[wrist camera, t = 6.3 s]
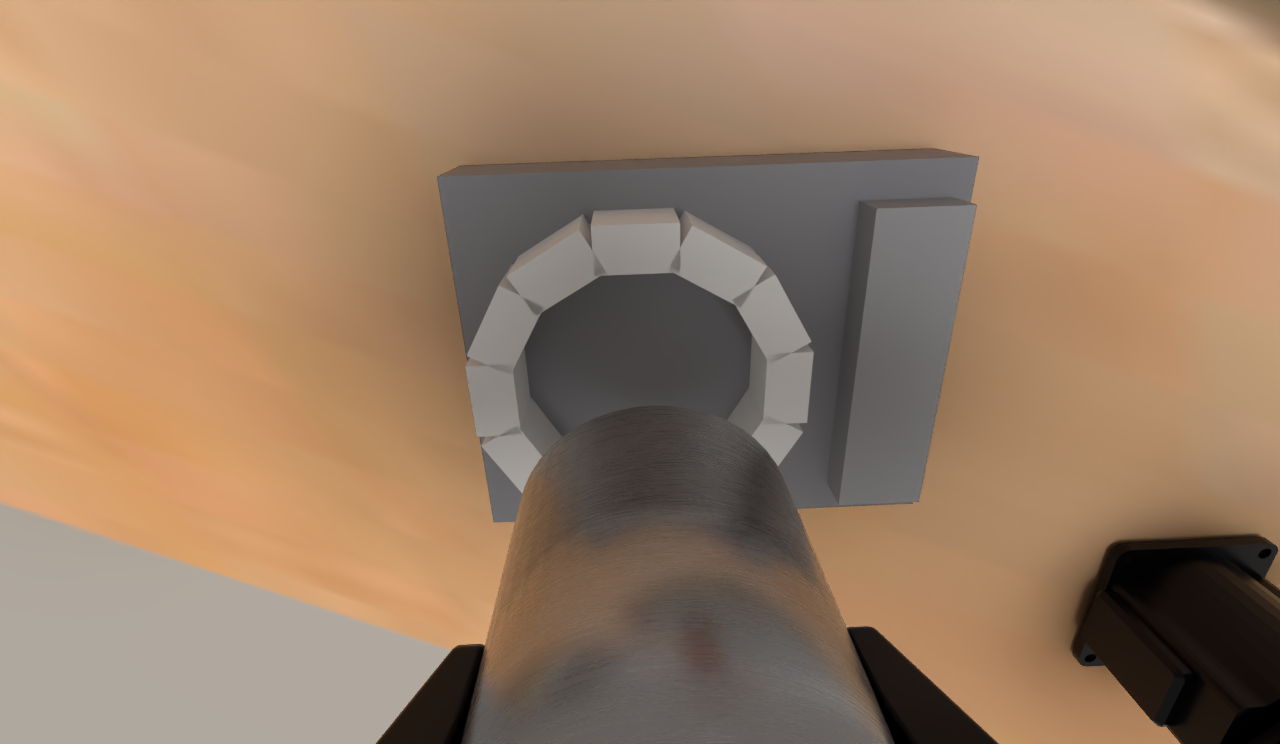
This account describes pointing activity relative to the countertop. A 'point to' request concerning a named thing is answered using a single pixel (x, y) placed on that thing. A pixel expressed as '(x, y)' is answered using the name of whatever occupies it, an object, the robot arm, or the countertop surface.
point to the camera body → (715, 305)
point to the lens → (666, 600)
